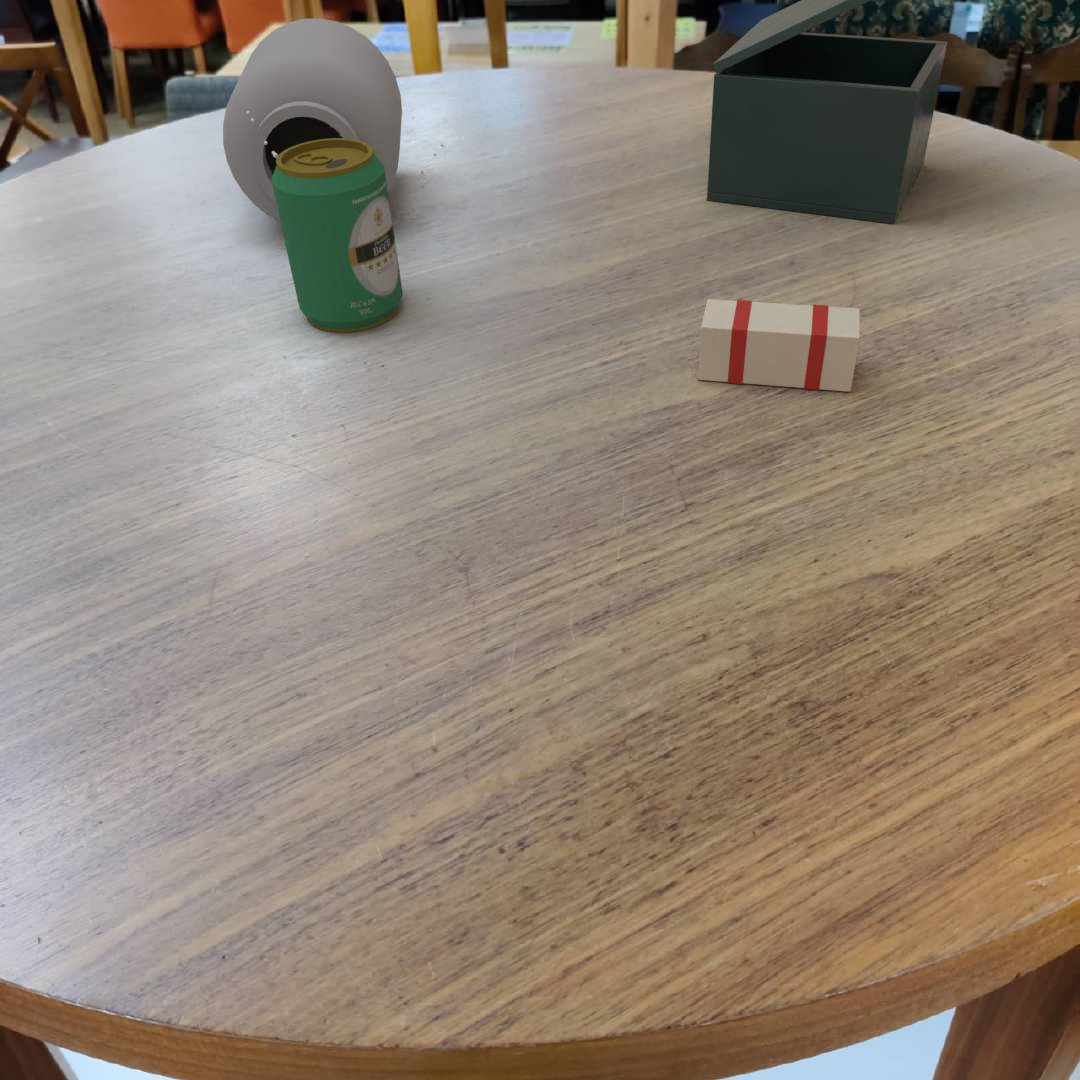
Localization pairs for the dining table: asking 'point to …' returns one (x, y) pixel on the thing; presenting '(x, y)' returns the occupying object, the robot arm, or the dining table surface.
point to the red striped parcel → (779, 344)
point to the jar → (309, 102)
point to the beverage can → (338, 233)
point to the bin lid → (784, 28)
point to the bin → (825, 125)
